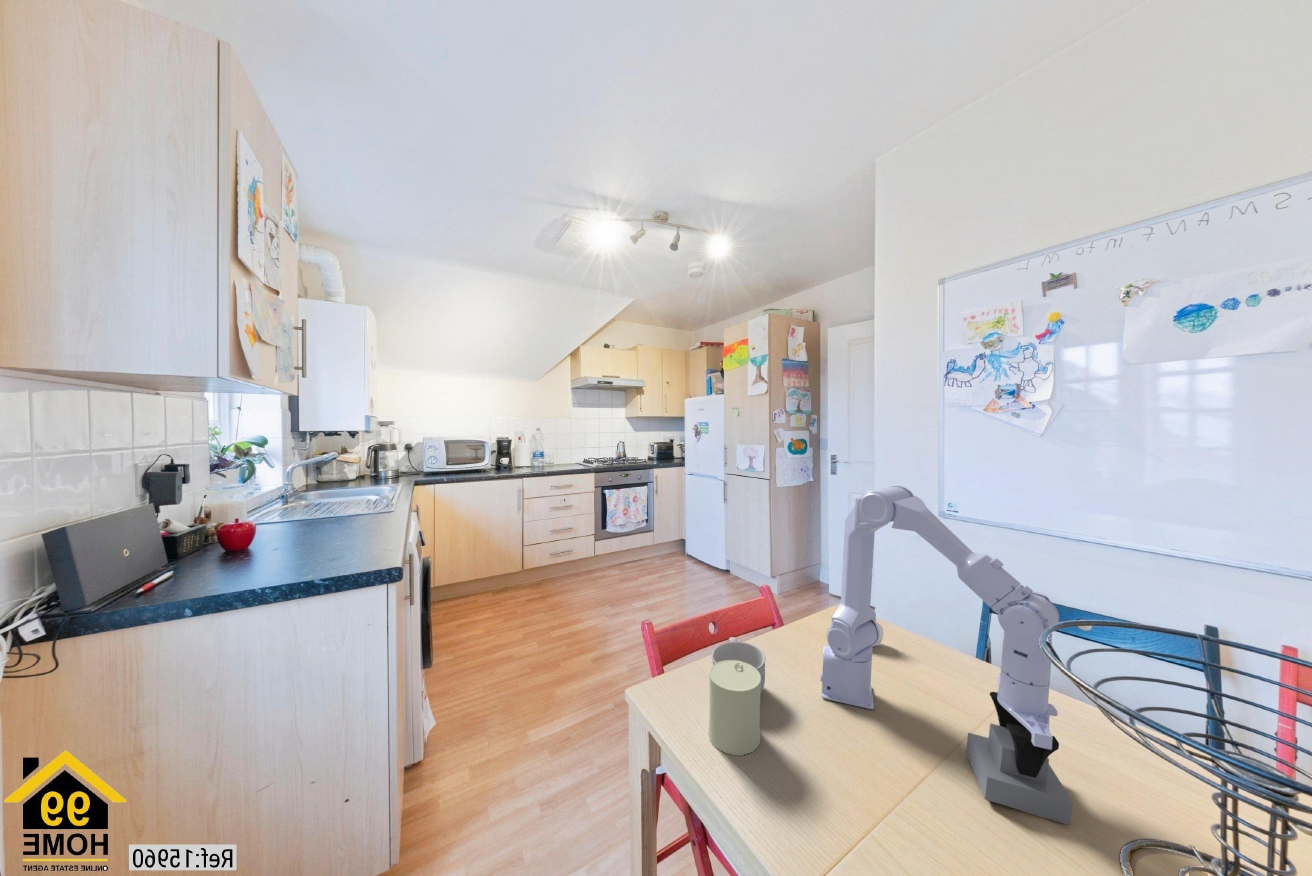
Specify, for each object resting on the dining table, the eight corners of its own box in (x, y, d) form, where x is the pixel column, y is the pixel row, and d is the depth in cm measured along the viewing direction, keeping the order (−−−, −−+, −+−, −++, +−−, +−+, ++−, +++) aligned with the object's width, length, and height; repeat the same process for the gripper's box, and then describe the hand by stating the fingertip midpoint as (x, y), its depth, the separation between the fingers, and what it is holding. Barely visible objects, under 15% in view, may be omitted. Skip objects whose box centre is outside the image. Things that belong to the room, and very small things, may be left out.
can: (762, 724, 83) (764, 662, 82) (757, 762, 74) (758, 693, 73) (713, 712, 86) (714, 653, 85) (703, 747, 77) (703, 682, 76)
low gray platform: (984, 799, 66) (989, 752, 66) (965, 752, 76) (970, 711, 75) (1069, 825, 63) (1076, 776, 62) (1038, 772, 72) (1044, 729, 72)
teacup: (765, 712, 86) (766, 673, 85) (709, 705, 88) (709, 666, 88) (763, 670, 100) (763, 635, 99) (714, 664, 102) (714, 630, 101)
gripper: (1083, 712, 59) (1075, 806, 61) (1037, 654, 73) (1031, 732, 74) (1018, 699, 62) (1012, 790, 63) (985, 645, 76) (980, 721, 77)
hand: (1018, 758), depth 69 cm, fingers closed on low gray platform, 6 cm apart
